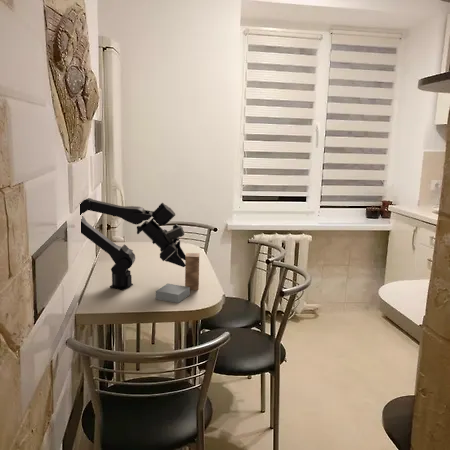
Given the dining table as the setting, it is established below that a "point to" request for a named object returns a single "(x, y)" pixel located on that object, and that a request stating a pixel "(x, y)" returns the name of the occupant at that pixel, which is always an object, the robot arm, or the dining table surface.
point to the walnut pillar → (192, 271)
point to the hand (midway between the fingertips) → (185, 262)
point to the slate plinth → (172, 293)
